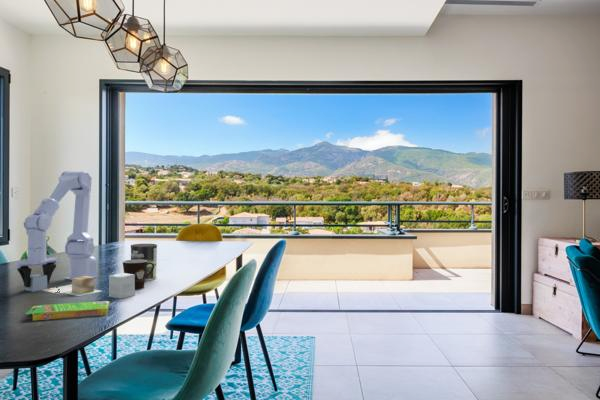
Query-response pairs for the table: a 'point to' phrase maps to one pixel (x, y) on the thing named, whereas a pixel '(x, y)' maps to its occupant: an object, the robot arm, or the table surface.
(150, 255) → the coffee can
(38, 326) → the table surface
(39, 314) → the game box
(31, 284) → the cube
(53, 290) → the letter
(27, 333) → the table surface
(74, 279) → the block
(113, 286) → the skincare box
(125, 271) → the coffee mug
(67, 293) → the mat
